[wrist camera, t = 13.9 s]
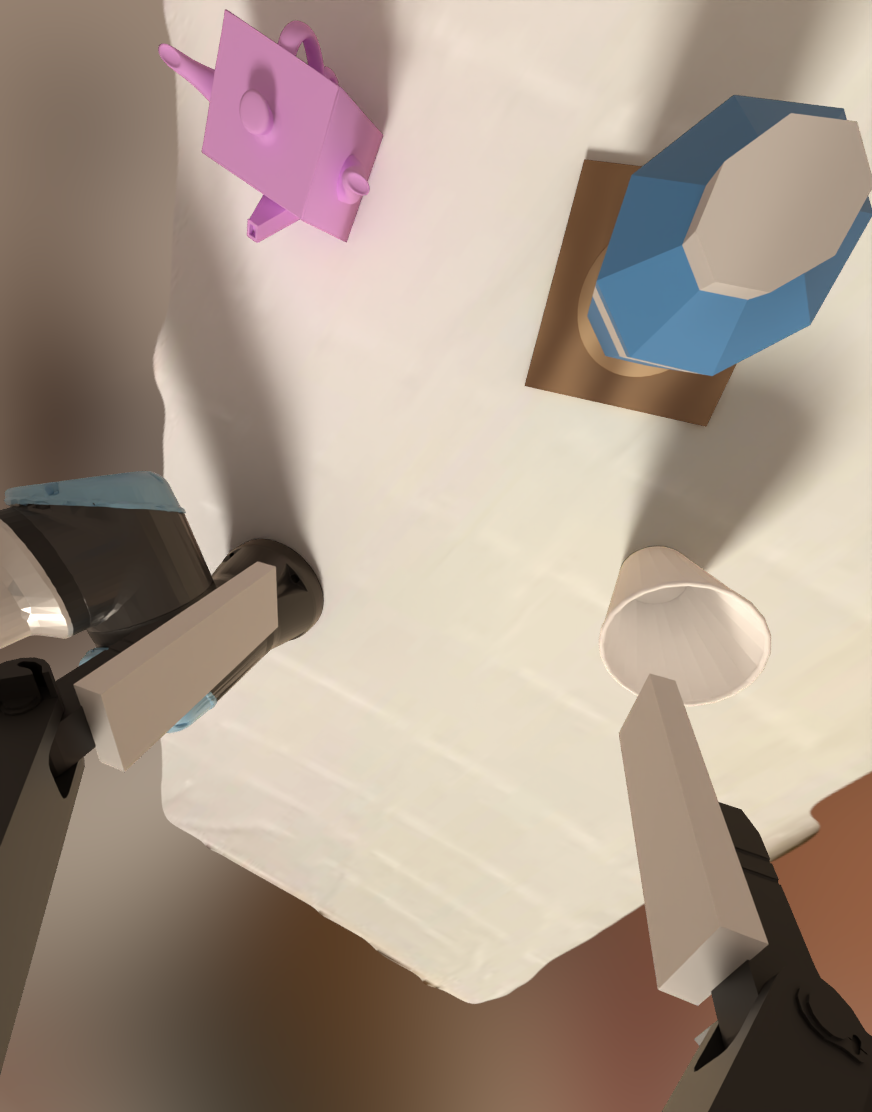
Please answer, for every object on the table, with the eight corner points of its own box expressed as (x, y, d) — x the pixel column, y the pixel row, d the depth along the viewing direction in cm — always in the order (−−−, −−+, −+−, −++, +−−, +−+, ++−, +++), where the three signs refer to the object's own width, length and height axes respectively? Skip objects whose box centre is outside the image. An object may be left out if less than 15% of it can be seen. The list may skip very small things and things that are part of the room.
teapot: (223, 204, 40) (130, 164, 32) (260, 18, 34) (155, -95, 25) (376, 308, 40) (324, 296, 32) (444, 142, 34) (400, 71, 25)
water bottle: (651, 201, 31) (822, -152, 9) (747, 281, 31) (1126, 118, 10) (563, 321, 36) (542, 270, 14) (647, 390, 36) (752, 443, 14)
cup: (580, 539, 44) (581, 599, 33) (709, 507, 39) (760, 565, 28) (609, 632, 47) (618, 713, 37) (731, 613, 42) (782, 700, 32)
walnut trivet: (525, 385, 39) (524, 385, 39) (584, 162, 32) (584, 158, 31) (704, 425, 36) (706, 426, 36) (816, 191, 29) (821, 188, 28)
